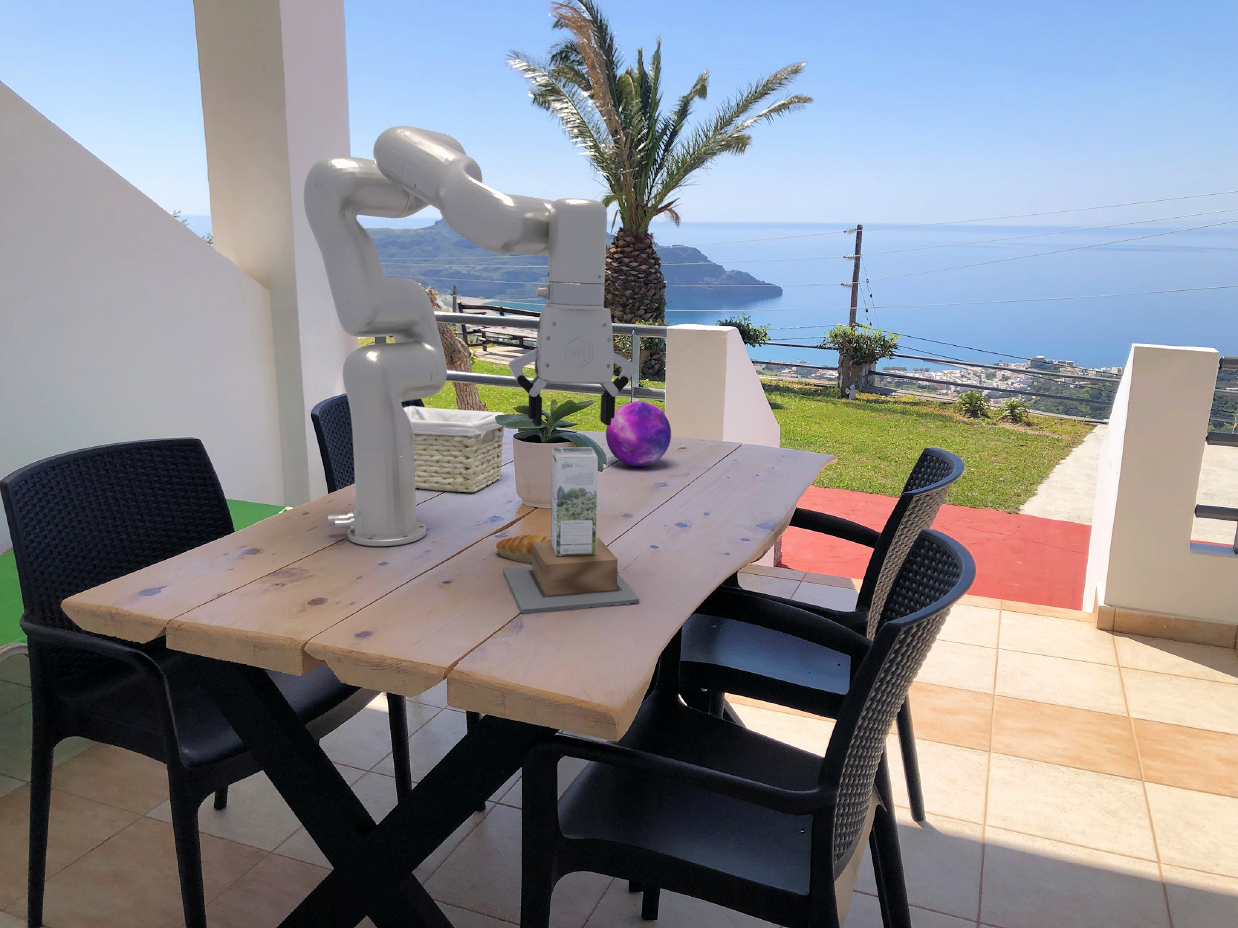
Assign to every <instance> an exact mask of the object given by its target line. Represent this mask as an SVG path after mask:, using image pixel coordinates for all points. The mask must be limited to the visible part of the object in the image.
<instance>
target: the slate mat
mask: <svg viewBox="0 0 1238 928" xmlns="http://www.w3.org/2000/svg"><path fill="white" fill-rule="evenodd" d="M530 570H531V571H532V566H523V567H510V568H503V569H502V574H503V576H504V577H505V580H506V583H507V584H509V585H508V586H509V589H510V591H511V594H512V596H513V595H514V596H513V598H514V600H515V602H517V603H516V604H518V605H517V607H518V609H519V611H521V612H520V614H521V613H526V614H535V613H536V612H538V613H546V612H555V611H554V610H560V611H568V609H571V610H579V609H580V610H581V609H582V610H583V609H589V607H593V608H602V607H601V606H604V607H611V606H610V605H615V606H617V605H616V604H626V605H630V604H629V603H637V604H640V598H639V597H638V596H637V594H636V592H634V591H633V589H632V588H631V587H630V586H629V584H628V583H627V582H626V581H625V579H623V577H622V576H621V574H620V573H619V572H618V571H617V585H618V586H619V587H620V589H621V591H618V589H617V590H616V591H617V592H604V593H599V592H598V593H593V592H592V593H591V594H582V595H576V594H577V593H574V595H572V594H571V595H570V596H568V594H566V595H565V596H562V595H556V596H558V597H556V596H555V595H552V597H550V596H549V597H544V598H542V597H543V595H542V594H544V593H542V594H540V591H538V589H537V588H538V587H536V585H535V583H534V581H535V579H534V581H533V579H532V578H533V577H534V576H533V577H532V576H531V575H530V573H531V572H528V571H530ZM532 573H533V571H532ZM532 573H531V574H532ZM532 575H533V574H532ZM535 582H536V581H535ZM537 582H538V581H537ZM538 583H539V582H538ZM538 585H539V584H538ZM540 588H541V587H540ZM620 589H619V590H620ZM539 590H541V589H539ZM542 591H543V590H542ZM614 591H615V590H614ZM543 592H544V591H543ZM586 593H588V592H586ZM578 594H579V593H578ZM580 594H581V593H580ZM541 595H542V596H541ZM544 595H545V594H544ZM545 596H546V595H545ZM554 596H555V597H554ZM627 603H628V604H627Z"/></svg>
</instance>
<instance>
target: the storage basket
mask: <svg viewBox="0 0 1238 928" xmlns="http://www.w3.org/2000/svg"><path fill="white" fill-rule="evenodd" d="M403 409H404V410H405V412H406V414H407V416H408V417H409V419H410V422H411V424H412V428H413V436H414V462H415V488H419V489H422V490H431V491H438V490H439V492H440V491H445V492H451V491H452V492H459V493H461V492H464V493H475V492H478V491H480V490H481V489H484V488H485V487H487V486H486V485H488V486H490V485H492V482H493V483H495V482H496V481H498V480H500V478H501V470H502V462H503V444H504V443H503V438H504V435H505V434H504V430H505V426H504V427H502V426H500V425H499V424H497V423H496V420H495V416H497V415H505V416H506V414H505V413H504V412H502V411H498V412H496V411H495V412H494V411H485V410H484V411H482V410H467V409H451V408H437V407H436V408H435V407H425V406H424V407H423V406H415V405H409V406H405V407H403ZM497 479H498V480H497ZM489 484H490V485H489Z"/></svg>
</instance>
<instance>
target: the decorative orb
mask: <svg viewBox="0 0 1238 928" xmlns="http://www.w3.org/2000/svg"><path fill="white" fill-rule="evenodd" d="M671 430H672V429H671V424H670V422H669V419H668V417H667V415H666V414H665V413H664V412H663V411H662V410H661V409H660V408H659V407H657V406H656V405H653V404H652V403H649V402H646V401H633V402H628V403H625V404H623V405H622V406H620V407H618V408H617V409H615V416H614V418H611V425H609V426H607V425H606V429H605V440H606V443H607V444H606V445H607V446H608V449H609V450H610V452H611V453H612V455H613V456H614V457H615V458H616V459H617V460H618V461H620V462H621V463H623V464H625V465H628V466H631V467H636V468H637V467H638V468H639V467H647V466H650V465H652V464H654V463H656V462H657V461H659V460H660V459H661V458H662V457H663V456H664V455H665V453H667V451H668V448H669V447H670V443H671V439H672V431H671Z"/></svg>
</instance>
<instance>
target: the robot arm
mask: <svg viewBox="0 0 1238 928" xmlns="http://www.w3.org/2000/svg"><path fill="white" fill-rule="evenodd" d="M373 145H374V146H373V150H372V151H373V152H372V155H373V160H372V159H368V158H362V157H356V156H346V155H334V156H333V155H331V156H328V157H324V158H321V159H319V160H318V161H316V162H315V163H314V164H313V165H312V166H311V168H310V169H309V171H308V172H307V176H306V178H305V182H304V185H303V186H304V187H303V207H304V213H305V215H306V219H307V223H308V225H309V227H310V229H311V232H312V234H313V237H314V239H315V241H316V243H317V246H318V248H319V251H320V253H321V254H320V255H321V256H322V261H323V263H324V268H325V274H326V276H327V280H328V285H329V287H330V292H331V297H332V299H333V303H334V307H335V311H336V314H337V318H338V321H339V323H340V326H341V327H342V329H343V331H344V332H346V333H347V334H349V335H350V336H353V337H356V338H382V337H383V338H385V337H393V339H394V341H395V342H389V343H388V342H387V343H385V342H384V343H374V344H368V345H363V346H360V347H358V348H356V349H355V350H353V351H352V352H351V353H350V354H348V356H347V357H346V359H345V361H344V363H343V368H342V379H343V386H344V388H345V389H344V390H345V394H346V397H347V401H348V405H349V412H350V419H351V431H352V433H351V434H352V447H353V450H352V451H353V467H354V470H353V471H354V485H355V487H354V488H355V506H354V510H353V511H350V510H349V511H347V513H342V514H341V513H329V514H327V521H328V522H327V524H328V527H329V526H331V527H335V529H344V528H348V530H347V539H348V540H349V541H350V542H352V543H355V544H357V545H362V546H369V547H389V546H390V547H392V546H399V545H405V544H409V543H410V544H411V543H414V542H416V541H418V540H420V539H422V538H424V537H425V536H426V534H427V526H426V525H425V524H424V522H421V521H419V520H417V499H416V497H417V496H416V494H417V493H416V489H415V462H414V436H413V428H412V424H411V422H410V419H409V417H408V416H407V414H406V412H405V410H404V409H403V408H404V406H403V405H402V402H403V403H404V402H407V401H414V400H421V399H422V400H423V399H427V398H432V397H434V396H436V395H437V394H439V393H440V392H441V391H442V390H443V388H444V386H445V385H446V382H447V378H448V377H447V375H448V367H447V361H446V360H447V359H446V355H445V350H444V347H443V343H442V338H441V333H440V331H439V327H438V323H437V319H436V315H435V311H434V307H433V303H432V302H431V298H430V296H429V294H428V292H426V290H425V289H424V288H423V287H422V286H421V284H419V283H418V282H417V281H415V280H413V279H410V278H408V277H395V276H394V277H392V276H391V277H390V276H389V277H388V276H387V275H386V273H385V272H384V269H383V266H382V263H381V259H380V254H379V251H378V249H377V246H376V244H375V242H374V240H373V238H372V237H371V236H370V233H369V232H368V230H366V228H365V227H364V226H363V225H362V224H361V223H360V222H359V221H358V219H357V217H358V216H365V217H366V216H367V217H373V218H374V217H375V218H386V219H403V218H408V217H410V216H412V215H414V214H417V213H419V212H420V211H422V210H423V209H425V208H427V207H429V206H431V207H433V208H436V209H437V210H439V212H440V214H441V216H442V218H443V220H444V221H445V223H446V224H447V226H448V227H449V229H451V230H452V231H454V232H455V233H457V234H458V235H460V236H462V237H463V238H465V239H466V240H468V241H470V242H472V243H473V244H476V245H477V246H479V247H480V248H482V249H485V250H486V251H490V252H492V253H496V254H501V255H521V256H522V255H523V256H531V257H534V256H535V257H547V281H546V282H545V285H542V286H536V291H535V292H536V293H535V294H536V297H537V298H542V299H544V300H545V302H546V305H542V306H541V310H540V315H539V319H538V326H537V332H536V333H537V334H536V342H535V348H534V349H533V350H530V351H527V352H526V353H524V354H522V355H520V356H518V357H516V358H514V359H512V360H510V361H509V362H508V366H509V367H508V368H510V371H511V373H512V375H513V377H514V379H515V382H516V383H518V384H519V385H520V387H521V388H522V389H523V390H524V391H525V392H526V393H527V394H528V413H527V414H528V420H531V421H532V423H533V424H534V426H535V427H541V426H542V424H543V421H542V420H543V418H542V417H543V398H542V397H543V396H541V392H542V390H543V389H544V388H545V387H546V386H547V385H548V384H553V385H555V384H557V385H600V386H601V388H602V389H603V392H602V394H600V395H601V396H600V415H599V416H600V417H599V420H600V422H601V423H602V424H604V425H606V427H607V426H609V425H611V418H614V416H615V411H616V397H618V395H619V394H620V392H621V391H622V390H623V389H625V387H626V386H627V385H628V384H629V382H630V381H629V380H630V378H631V377H632V376H633V374H634V372H635V370H636V368H637V366H636V365H637V364H635V363H634V362H632V361H630V360H628V359H627V358H625V357H624V356H622V355H620V354H618V353H616V352H615V351H614V334H613V324H612V323H613V322H612V315H611V309H610V308H607V307H606V308H605V306H604V302H605V281H606V280H605V278H606V259H607V258H606V257H607V256H606V255H607V251H606V250H607V235H608V234H607V230H608V211H607V207H606V205H605V204H604V203H602V202H601V201H599V200H596V199H588V198H573V197H572V198H568V197H567V198H559V199H555V200H552V199H544V198H537V197H532V196H526V195H520V194H518V195H517V194H509V193H505V192H501V191H499V190H497V189H494V188H492V187H490V186H489V185H487V184H484V183H483V173H482V170H481V167H480V166H479V164H478V163H477V161H476V160H475V159H474V158H473V157H470V156H468V155H467V153H466V151H465V148H464V147H463V146H462V144H461V142H459V141H458V140H457V139H456V138H454V137H453V136H451V135H449V134H446V133H442V132H438V131H433V130H428V129H425V128H421V127H420V128H419V127H415V126H414V127H413V126H408V125H395V126H391V127H389V128H387V129H385V130H384V131H383V132H381V133H380V134H379V135H378V136H377V138H376V140H375V143H374V144H373ZM533 362H534V373H535V377H533V379H532V380H531V381H530V380H529V379H528V378H527V377H526V375H525V373H524V371H523V369H524V367H526V366H528V365H530V364H531V363H533ZM615 364H616V365H618V366H619V367H621V371H620V373H619V375H618V376H617V377H616V378H615V379H614V380H612V379H613V378H614V377H613V376H614V370H615V369H614V368H615Z"/></svg>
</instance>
